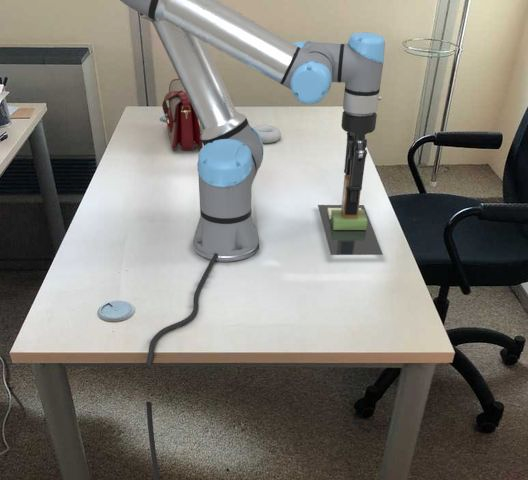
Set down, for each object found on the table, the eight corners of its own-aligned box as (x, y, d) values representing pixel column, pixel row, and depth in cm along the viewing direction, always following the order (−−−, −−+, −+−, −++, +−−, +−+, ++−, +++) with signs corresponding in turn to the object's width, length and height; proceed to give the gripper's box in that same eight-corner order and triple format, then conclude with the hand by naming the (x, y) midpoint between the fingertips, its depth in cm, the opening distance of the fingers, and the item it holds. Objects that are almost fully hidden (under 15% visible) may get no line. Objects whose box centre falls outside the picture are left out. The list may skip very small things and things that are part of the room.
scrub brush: (366, 230, 156) (372, 182, 149) (333, 230, 156) (337, 182, 149) (362, 218, 161) (368, 172, 154) (330, 218, 161) (334, 172, 154)
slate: (382, 260, 148) (383, 254, 148) (330, 260, 148) (330, 254, 147) (363, 210, 169) (363, 204, 168) (317, 210, 168) (317, 204, 167)
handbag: (163, 125, 217) (158, 70, 206) (194, 124, 219) (191, 69, 208) (169, 156, 195) (165, 97, 185) (204, 154, 197) (202, 95, 186)
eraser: (345, 219, 161) (345, 214, 160) (329, 219, 161) (329, 214, 160) (343, 212, 164) (343, 207, 164) (327, 212, 164) (327, 207, 163)
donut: (272, 132, 214) (245, 136, 210) (273, 122, 212) (245, 125, 208) (286, 142, 207) (257, 146, 203) (286, 132, 205) (258, 135, 201)
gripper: (383, 124, 136) (370, 225, 150) (370, 99, 149) (359, 195, 163) (348, 124, 135) (338, 225, 150) (338, 99, 148) (330, 195, 163)
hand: (349, 209), depth 156 cm, fingers closed on scrub brush, 4 cm apart
